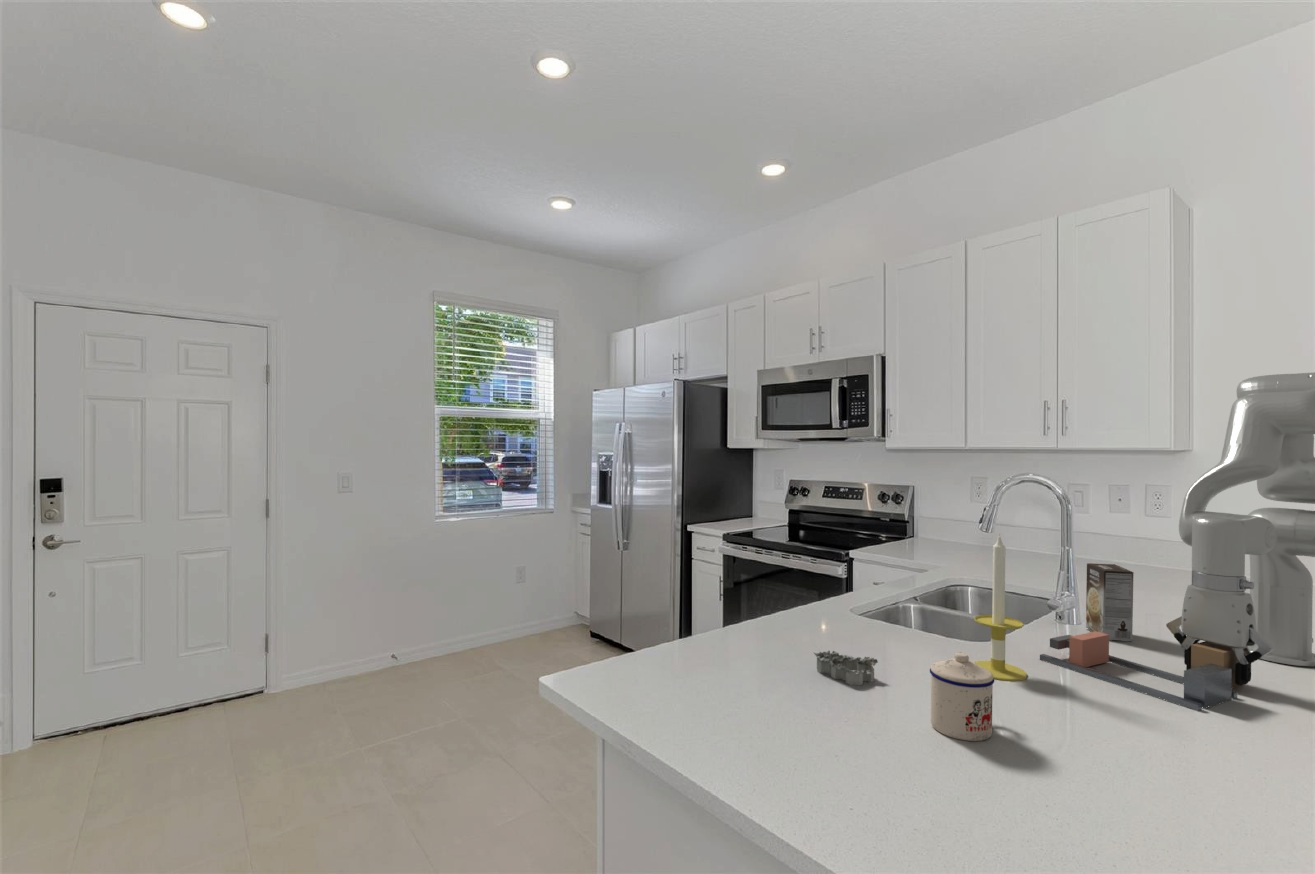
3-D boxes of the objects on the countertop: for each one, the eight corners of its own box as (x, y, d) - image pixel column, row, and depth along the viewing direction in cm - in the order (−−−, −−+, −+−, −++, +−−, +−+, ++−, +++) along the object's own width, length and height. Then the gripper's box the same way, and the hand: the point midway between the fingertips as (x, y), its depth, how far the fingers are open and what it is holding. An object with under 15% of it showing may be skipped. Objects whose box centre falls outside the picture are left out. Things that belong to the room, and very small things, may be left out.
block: (1209, 676, 123) (1210, 640, 123) (1242, 685, 119) (1242, 647, 119) (1190, 681, 120) (1191, 644, 120) (1223, 691, 116) (1223, 652, 116)
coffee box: (1084, 628, 154) (1085, 562, 154) (1113, 630, 152) (1114, 563, 152) (1102, 640, 145) (1103, 570, 145) (1134, 642, 143) (1135, 571, 143)
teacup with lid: (975, 749, 92) (976, 669, 92) (917, 725, 100) (918, 651, 100) (1013, 727, 99) (1014, 653, 99) (956, 707, 107) (957, 638, 107)
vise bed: (1078, 651, 137) (1078, 625, 137) (1237, 698, 112) (1237, 667, 112) (1039, 659, 131) (1040, 632, 131) (1198, 711, 106) (1198, 678, 107)
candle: (969, 675, 121) (971, 535, 122) (968, 659, 130) (970, 528, 131) (1029, 684, 117) (1031, 539, 117) (1024, 667, 126) (1026, 532, 126)
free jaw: (1072, 650, 136) (1072, 625, 136) (1108, 661, 129) (1109, 634, 129) (1045, 656, 132) (1046, 630, 132) (1082, 668, 125) (1082, 640, 125)
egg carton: (880, 681, 118) (880, 659, 118) (852, 689, 115) (853, 666, 115) (837, 663, 128) (837, 643, 128) (809, 670, 124) (810, 649, 124)
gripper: (1288, 590, 113) (1287, 690, 113) (1174, 572, 129) (1173, 659, 129) (1268, 594, 110) (1266, 697, 110) (1153, 574, 126) (1152, 664, 126)
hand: (1216, 676), depth 119 cm, fingers open, 6 cm apart
